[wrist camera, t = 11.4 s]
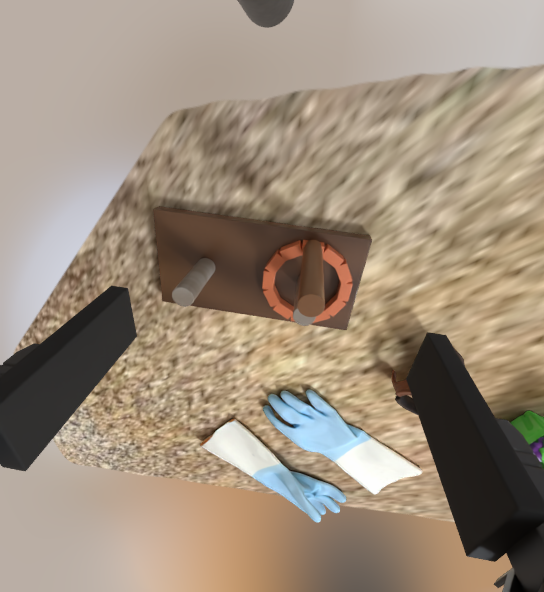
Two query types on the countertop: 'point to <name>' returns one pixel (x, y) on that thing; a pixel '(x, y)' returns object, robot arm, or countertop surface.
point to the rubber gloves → (315, 438)
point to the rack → (245, 263)
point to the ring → (308, 280)
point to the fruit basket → (532, 432)
